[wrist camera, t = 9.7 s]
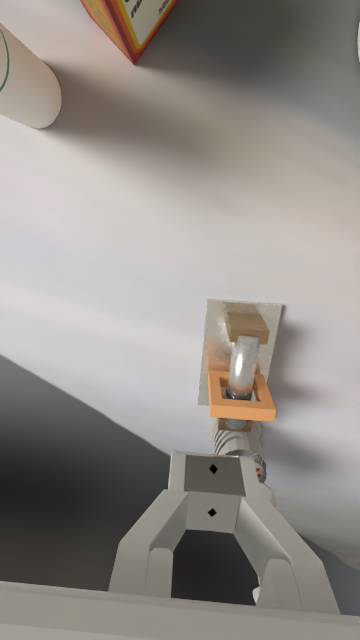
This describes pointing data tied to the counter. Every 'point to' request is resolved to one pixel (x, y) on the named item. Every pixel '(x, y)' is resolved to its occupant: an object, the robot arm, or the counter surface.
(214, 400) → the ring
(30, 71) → the cylindrical container
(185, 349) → the counter surface
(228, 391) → the pipe rig
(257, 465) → the french press
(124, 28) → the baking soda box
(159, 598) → the robot arm
